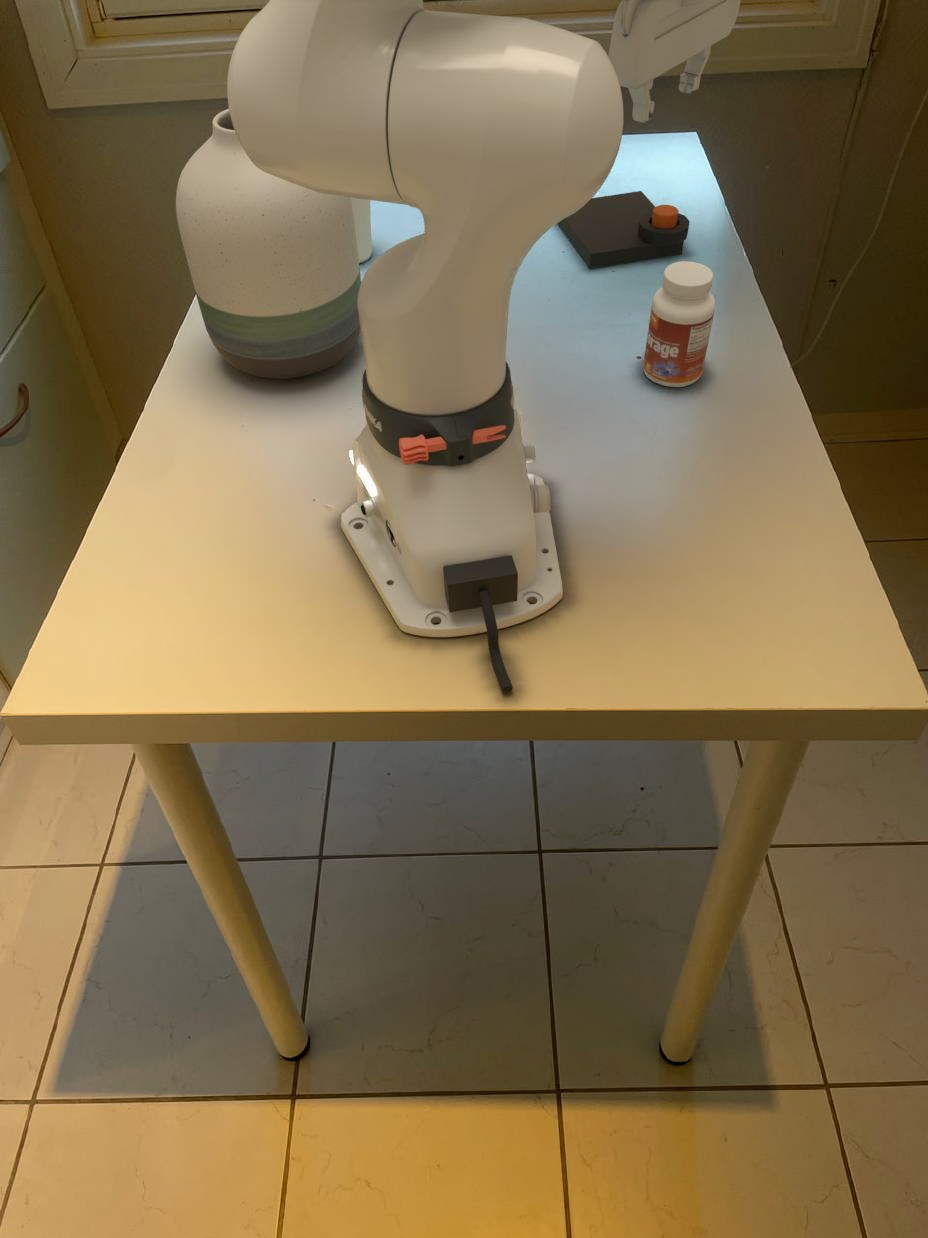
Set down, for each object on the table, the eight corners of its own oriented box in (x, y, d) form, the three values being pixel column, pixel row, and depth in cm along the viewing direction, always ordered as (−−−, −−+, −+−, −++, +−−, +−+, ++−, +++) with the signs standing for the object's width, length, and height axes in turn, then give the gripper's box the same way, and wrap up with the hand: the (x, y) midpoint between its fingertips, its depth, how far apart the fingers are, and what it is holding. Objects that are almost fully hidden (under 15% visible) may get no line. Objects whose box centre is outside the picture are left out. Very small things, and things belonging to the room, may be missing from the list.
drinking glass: (353, 274, 113) (337, 145, 101) (313, 259, 116) (293, 132, 104) (389, 252, 116) (378, 125, 105) (349, 237, 119) (334, 112, 108)
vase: (399, 352, 101) (378, 117, 83) (267, 415, 94) (212, 174, 76) (312, 293, 110) (276, 69, 92) (185, 347, 103) (119, 116, 85)
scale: (692, 256, 113) (697, 228, 111) (591, 272, 111) (594, 244, 109) (646, 203, 123) (649, 176, 120) (553, 217, 121) (554, 190, 118)
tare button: (680, 227, 112) (682, 213, 110) (657, 231, 111) (658, 217, 110) (670, 216, 114) (672, 202, 112) (647, 220, 113) (649, 206, 112)
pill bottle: (630, 368, 98) (642, 269, 90) (674, 349, 100) (690, 250, 92) (669, 396, 94) (686, 296, 86) (714, 376, 97) (734, 276, 88)
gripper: (654, -10, 86) (637, 145, 97) (762, -64, 96) (736, 82, 106) (598, -22, 89) (588, 130, 99) (708, -73, 99) (688, 70, 109)
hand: (665, 104), depth 103 cm, fingers open, 8 cm apart
